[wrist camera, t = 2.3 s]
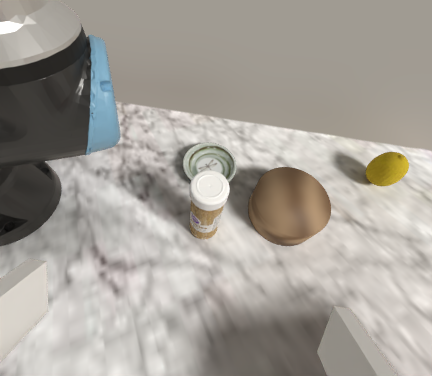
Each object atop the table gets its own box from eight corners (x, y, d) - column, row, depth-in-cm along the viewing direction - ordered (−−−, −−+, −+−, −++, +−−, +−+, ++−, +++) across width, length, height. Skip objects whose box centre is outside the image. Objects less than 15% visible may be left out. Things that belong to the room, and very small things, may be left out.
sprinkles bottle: (183, 229, 37) (181, 189, 25) (200, 208, 39) (204, 162, 27) (207, 245, 36) (216, 211, 24) (222, 223, 38) (237, 181, 26)
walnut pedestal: (245, 239, 37) (253, 229, 32) (250, 177, 43) (257, 161, 38) (318, 251, 37) (335, 243, 33) (313, 188, 43) (326, 173, 39)
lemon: (351, 172, 46) (380, 146, 39) (374, 167, 47) (405, 141, 40) (367, 195, 43) (400, 173, 36) (390, 190, 45) (427, 167, 38)
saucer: (211, 203, 40) (213, 197, 37) (171, 170, 42) (171, 163, 40) (244, 170, 44) (247, 163, 42) (206, 142, 46) (207, 133, 44)
